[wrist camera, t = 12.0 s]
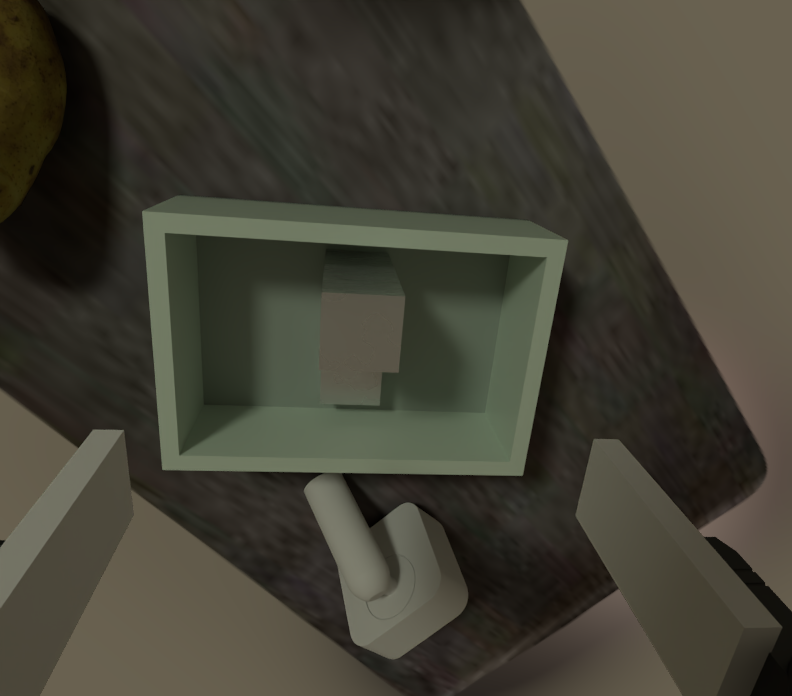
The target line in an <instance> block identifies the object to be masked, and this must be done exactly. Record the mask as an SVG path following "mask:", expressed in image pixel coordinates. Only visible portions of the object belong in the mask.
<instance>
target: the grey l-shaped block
mask: <svg viewBox="0 0 792 696" xmlns="http://www.w3.org/2000/svg"><path fill="white" fill-rule="evenodd" d="M404 307H405V294H404V292H403V289H402V287H401V284H400V281H399V279H398V276H397V274H396V271H395V269H394V266H393V263H392V261H391V258H390V256H389V253H383V252H366V251H350V250H334V249H326V253H325V263H324V273H323V282H322V292H321V320H320V348H319V370H321V386H320V404H342V405H376V406H380V393H381V380H382V372H391V373H399V362H400V351H401V340H402V329H403V318H404Z"/></svg>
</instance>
